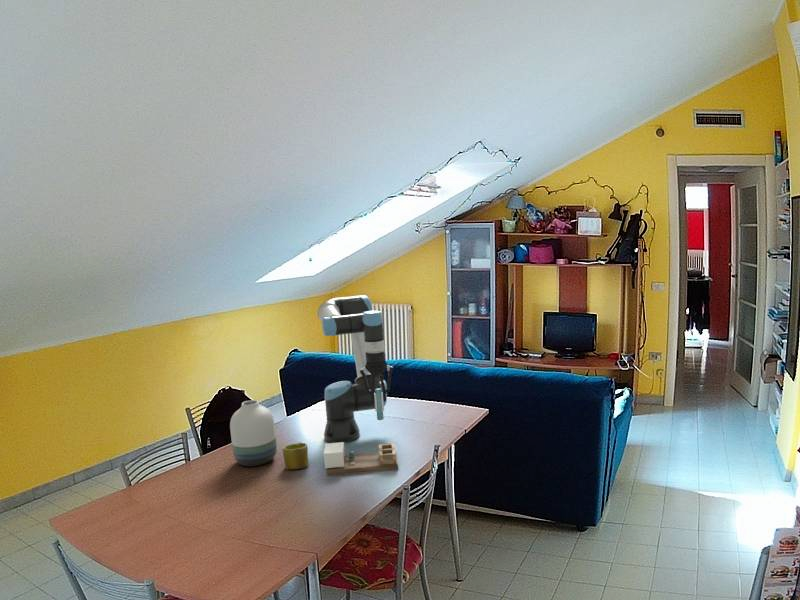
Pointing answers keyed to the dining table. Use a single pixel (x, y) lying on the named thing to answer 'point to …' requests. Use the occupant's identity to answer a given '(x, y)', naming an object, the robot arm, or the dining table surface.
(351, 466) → the board
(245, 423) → the vase
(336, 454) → the cover
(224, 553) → the dining table surface
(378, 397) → the peg
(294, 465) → the mug
